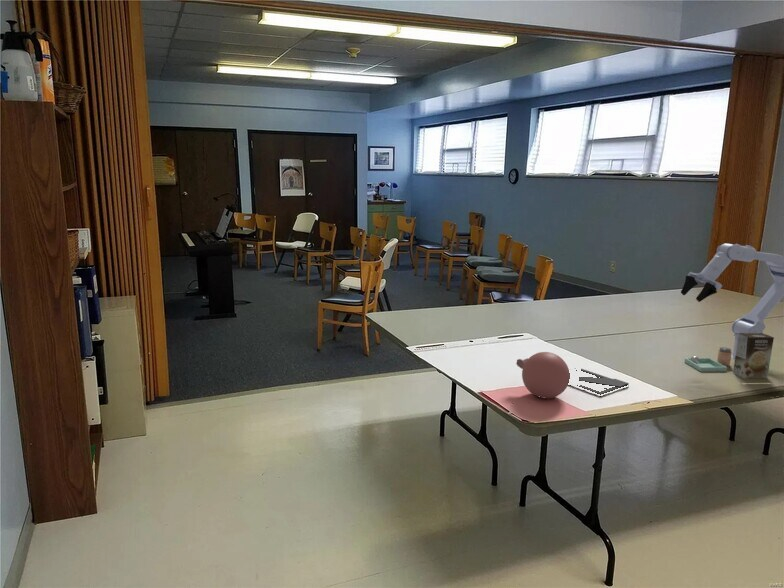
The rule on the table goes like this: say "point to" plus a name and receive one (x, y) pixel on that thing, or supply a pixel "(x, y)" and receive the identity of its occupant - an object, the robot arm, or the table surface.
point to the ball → (694, 359)
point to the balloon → (544, 374)
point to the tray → (706, 365)
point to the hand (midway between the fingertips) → (689, 297)
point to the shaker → (724, 356)
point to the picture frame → (602, 382)
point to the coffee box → (753, 355)
